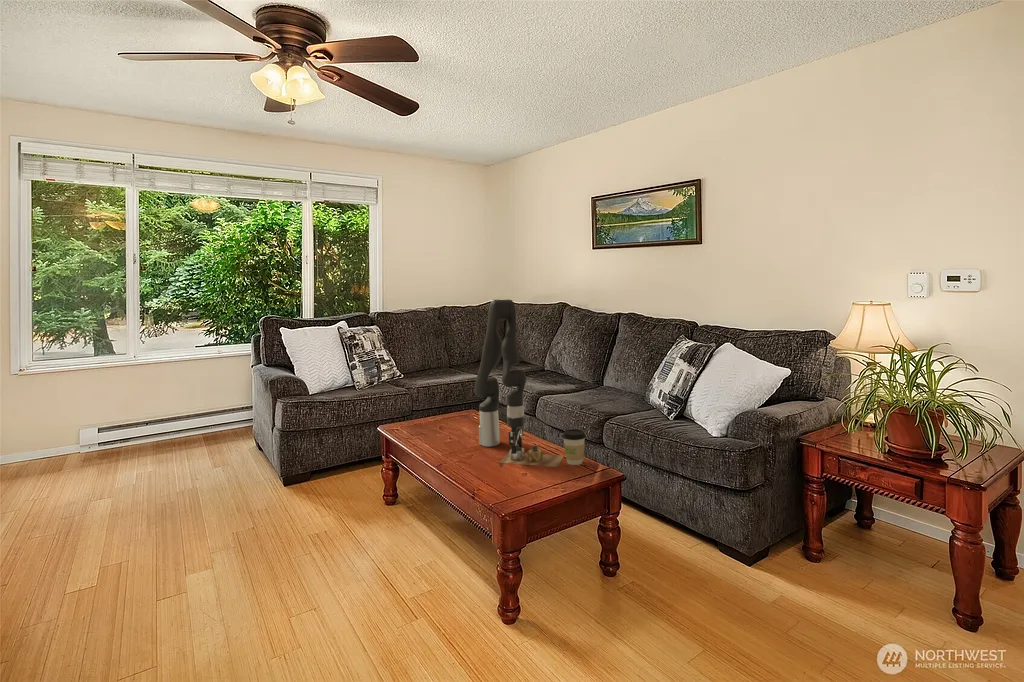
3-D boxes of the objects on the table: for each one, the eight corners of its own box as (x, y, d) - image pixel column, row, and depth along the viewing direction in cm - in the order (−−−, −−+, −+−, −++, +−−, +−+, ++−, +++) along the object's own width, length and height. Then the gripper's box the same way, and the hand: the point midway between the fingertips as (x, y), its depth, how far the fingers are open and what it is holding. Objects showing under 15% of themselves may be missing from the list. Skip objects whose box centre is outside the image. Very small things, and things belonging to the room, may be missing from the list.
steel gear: (509, 459, 234) (509, 451, 233) (513, 455, 239) (512, 446, 239) (521, 460, 232) (521, 451, 232) (524, 456, 237) (524, 447, 237)
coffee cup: (561, 462, 232) (560, 429, 230) (583, 460, 233) (582, 427, 231) (565, 470, 223) (564, 436, 221) (588, 469, 224) (587, 434, 221)
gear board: (499, 465, 231) (498, 449, 230) (509, 454, 244) (508, 439, 243) (557, 470, 223) (557, 453, 222) (564, 458, 236) (564, 442, 235)
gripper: (512, 410, 241) (513, 444, 243) (502, 419, 227) (503, 455, 230) (528, 410, 239) (529, 445, 241) (519, 419, 225) (520, 456, 227)
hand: (516, 450), depth 235 cm, fingers open, 8 cm apart
